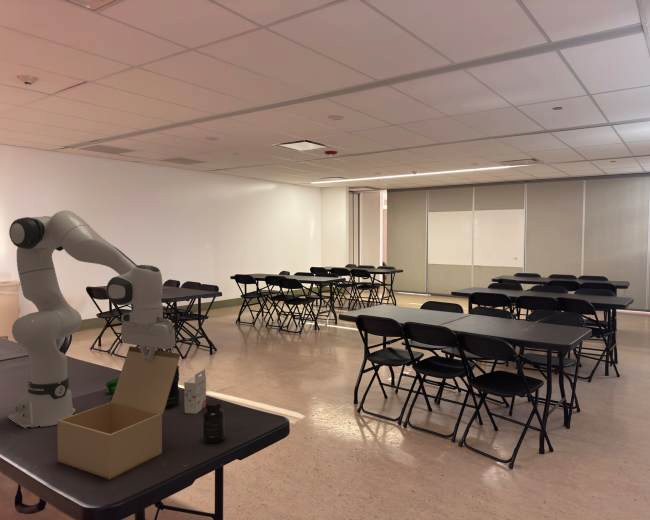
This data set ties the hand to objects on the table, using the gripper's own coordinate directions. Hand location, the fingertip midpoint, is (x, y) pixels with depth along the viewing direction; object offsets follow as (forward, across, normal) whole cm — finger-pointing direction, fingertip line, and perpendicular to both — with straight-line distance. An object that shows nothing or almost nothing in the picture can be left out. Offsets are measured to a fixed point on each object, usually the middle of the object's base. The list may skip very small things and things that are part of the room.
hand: (148, 359), depth 149 cm
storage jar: (+26, +19, -26) cm, 41 cm away
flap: (+5, 0, +1) cm, 6 cm away
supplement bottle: (+26, -18, -10) cm, 33 cm away
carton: (+26, 0, +14) cm, 29 cm away
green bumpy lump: (+26, +45, -26) cm, 59 cm away
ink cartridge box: (+26, +6, -28) cm, 39 cm away
